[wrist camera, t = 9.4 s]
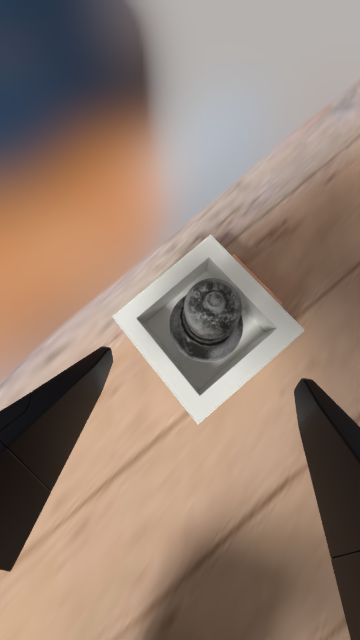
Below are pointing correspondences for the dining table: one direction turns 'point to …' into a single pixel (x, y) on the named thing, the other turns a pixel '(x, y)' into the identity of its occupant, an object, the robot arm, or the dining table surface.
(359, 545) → the robot arm
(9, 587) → the dining table surface
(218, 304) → the dark chess piece
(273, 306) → the tagged holder
